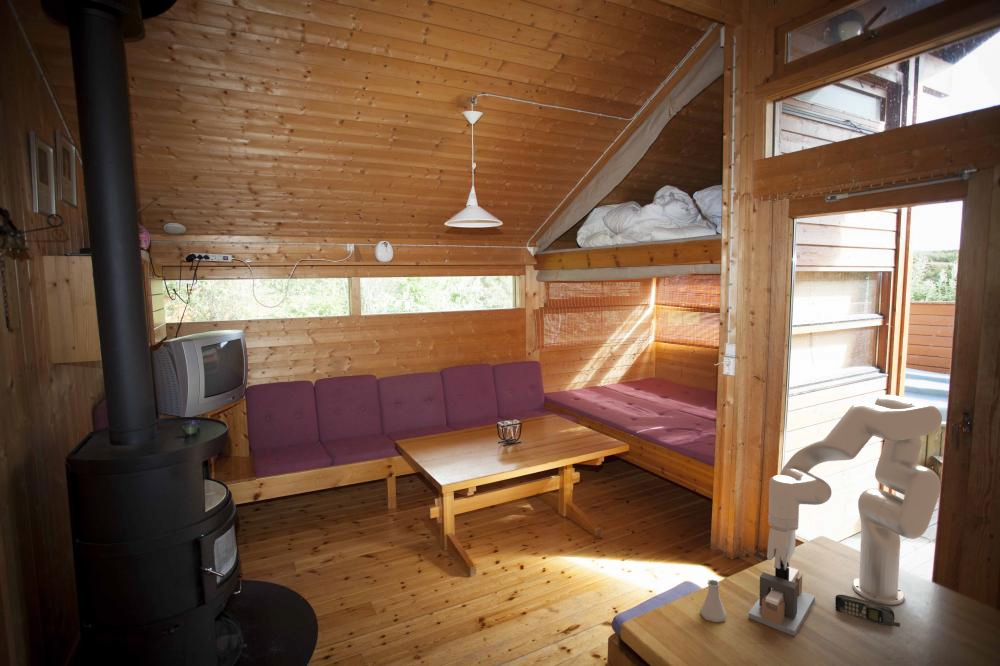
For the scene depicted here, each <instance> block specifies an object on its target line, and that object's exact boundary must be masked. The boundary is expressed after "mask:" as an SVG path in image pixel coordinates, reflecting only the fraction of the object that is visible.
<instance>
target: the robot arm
mask: <svg viewBox="0 0 1000 666" xmlns="http://www.w3.org/2000/svg"><path fill="white" fill-rule="evenodd" d="M942 422H943V415H942V413H941V411H940V410H939V409H938V408H937V407H936V406H934V405H932V404H930V403H926V402H922V401H919V400H915V399H911V398H909V397H907V398H906V397H903V396H899V395H894V394H882V395H880V396H879V397H877V398H876V399H875V402H874V403H870V402H863V401H861V402H856V403H854V404H853V405H851V406H850V407H849V408H848V410H847V411H846V412H845V414H844V415H843V416H842V417H841V418H840V420H839V421H838V422H837V424H835V426H834V427H833V428H832V429H831V430H830V432H829V433H828V435H827V436H825V437H824V438H823V439H821V440H819V441H816V442H814V443H812V444H809V445H807V446H805V447H803V448H801V449H799V450H798V451H796V452H795V453H794V454H793V455H792V456H791V457H790V459H789V460H788V461H787V463H785V465H784V466H783V468H782V469H781V471H780V473H779V474H777V475H774V476H772V477H770V478H769V481H768V521H767V523H768V524H769V526H770V528H769V531H768V532H769V533H768V541H767V554H766V555H767V556H766V558H767V560H768V561H771V560H773V558H774V568H775V569H774V572H775V574H774V576H776V577H779V578H782V579H785V580H788V581H789V568H787V567H790V561H791V560H790V559H791V558H792V557H793V555H794V553H795V552H796V531H797V530H798V529H799V520H800V519H799V518H800V515H799V514H800V512H799V511H800V505H811V506H812V505H813V506H818V505H824V504H825V503H826V502H828V501H830V499H831V497H832V488H831V486H830V484H829V483H828V482H827V481H825V480H824V479H822V478H820V477H818V476H816V475H814V474H813V473H811V472H810V471H811V469H813V468H814V467H815V466H817V465H820V464H822V463H827V462H836V461H849V460H853V459H854V458H856V457H857V455H858V454H860V452H861V451H862V449H863V448H864V447H865V446H866V444H867V443H868V442H869V441H870V440H871V438H872V437H877V438H880V439H882V440H884V443H883V447H882V449H881V453H880V455H879V459H878V461H877V465H876V468H875V472H874V477H875V479H876V481H877V482H878V483H879V484H881V486H884V487H886V488H889V489H890V490H893V491H894V492H897V493H899V494H901V495H904V497H903V498H901V497H899V496H897V495H895V494H892V493H890V492H889V491H885V490H883V489H880V488H867V489H866V490H864V491H862V493H861V494H860V495H859V498H858V500H857V501H858V502H857V506H858V513H859V517H860V518H859V519H860V526H861V527H860V551H859V553H860V554H859V574H858V575H859V577H856V578H854V579H853V582H852V587H853V590H854V591H855V592H856V593H857V594H858V595H859V596H861V597H863V598H865V599H867V600H869V601H870V602H874V603H877V604H880V605H890V606H892V605H898V604H902V602H904V600H905V593H904V591H903V590H902V589H901V588H900V587H899V576H900V575H899V571H900V556H901V555H900V553H901V537H903V538H905V539H911V540H916V539H918V538H921V536H923V535H924V534H925V533H926V531H927V529H928V527H929V526H930V522H931V520H932V516H933V514H934V512H935V508H936V505H937V502H938V500H939V497H940V494H941V479H940V477H939V476H938V474H937V473H936V472H935V471H934V470H933V469H930V468H929V467H927V466H925V465H921V464H919V463H918V460H919V457H920V453H921V449H922V439H921V437H924V436H925V437H926V436H928V435H931V434H933V433H935V432H936V431H937V430H939V428H940V427H941V425H942ZM900 536H901V537H900Z"/></svg>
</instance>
